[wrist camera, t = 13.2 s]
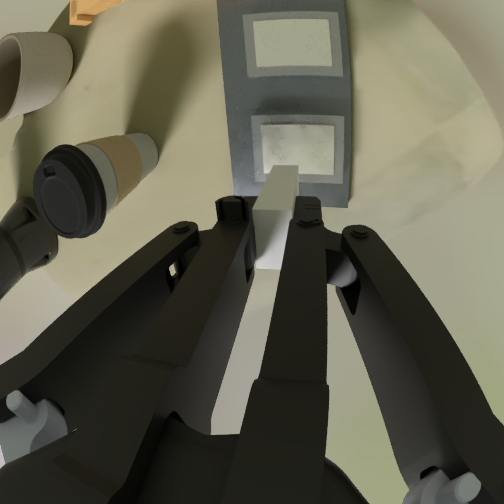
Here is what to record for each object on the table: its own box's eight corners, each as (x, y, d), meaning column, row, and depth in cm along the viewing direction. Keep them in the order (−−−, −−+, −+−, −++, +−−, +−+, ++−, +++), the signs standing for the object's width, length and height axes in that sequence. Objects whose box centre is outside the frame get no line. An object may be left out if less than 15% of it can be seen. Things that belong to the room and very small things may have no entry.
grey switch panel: (237, 201, 33) (227, 218, 30) (217, -32, 17) (202, -47, 14) (346, 204, 31) (351, 222, 27) (335, -39, 15) (338, -57, 11)
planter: (95, 43, 24) (34, 44, 15) (64, 117, 31) (9, 137, 22) (52, 24, 22) (-1, 27, 13) (27, 90, 28) (-22, 104, 19)
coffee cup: (146, 104, 28) (54, 129, 16) (184, 165, 32) (110, 221, 20) (101, 146, 32) (19, 186, 20) (136, 199, 36) (65, 258, 24)
